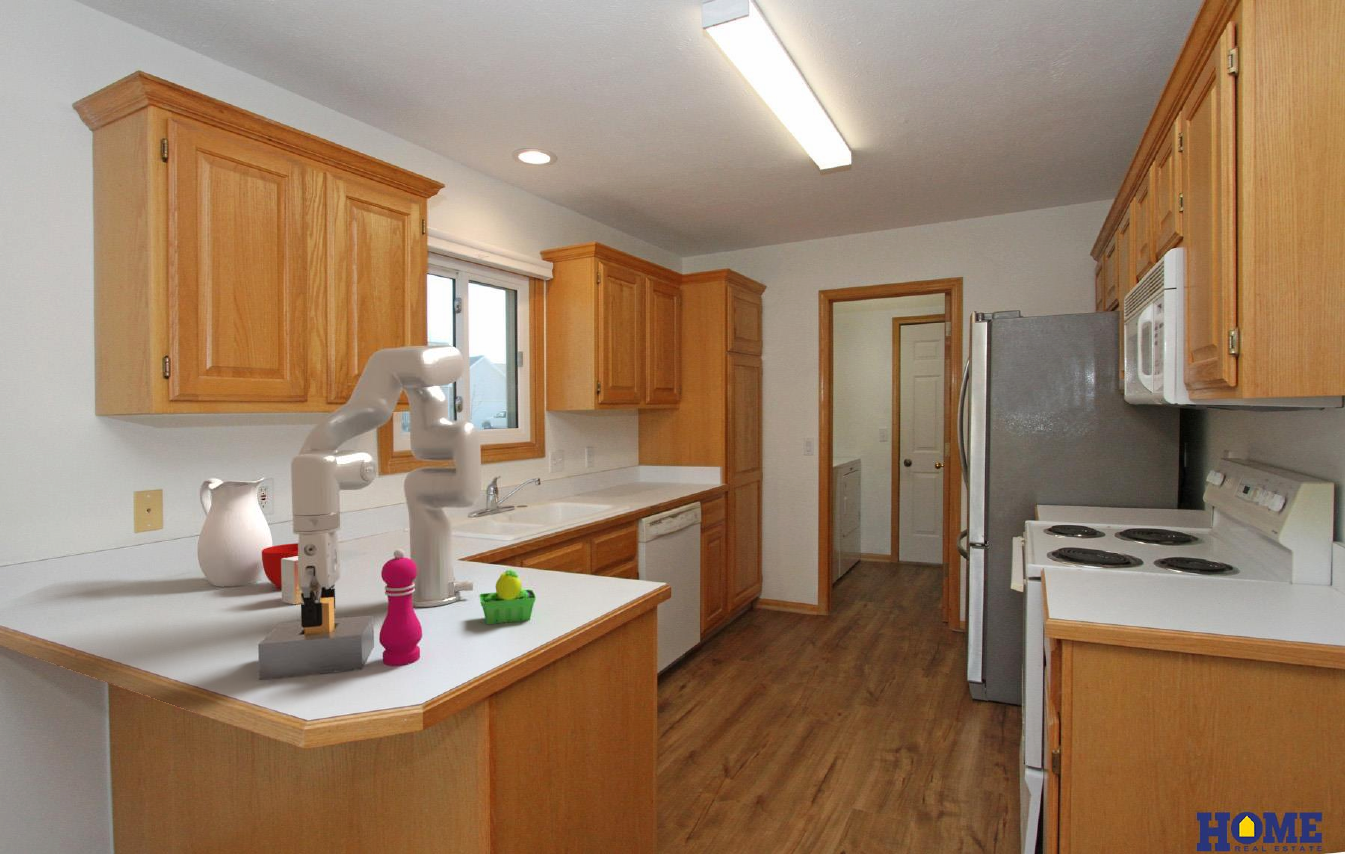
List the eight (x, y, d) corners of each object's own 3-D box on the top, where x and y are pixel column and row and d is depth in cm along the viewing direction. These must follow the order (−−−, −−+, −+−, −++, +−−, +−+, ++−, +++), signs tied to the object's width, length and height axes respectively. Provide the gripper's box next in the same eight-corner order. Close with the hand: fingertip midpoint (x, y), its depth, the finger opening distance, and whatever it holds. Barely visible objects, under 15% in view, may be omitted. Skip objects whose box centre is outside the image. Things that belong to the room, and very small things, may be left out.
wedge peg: (335, 656, 125) (333, 597, 125) (330, 664, 121) (328, 602, 121) (311, 659, 124) (309, 598, 124) (305, 667, 120) (303, 604, 120)
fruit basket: (532, 611, 152) (531, 560, 152) (537, 622, 144) (536, 569, 144) (479, 616, 149) (478, 565, 149) (481, 629, 140) (480, 574, 140)
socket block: (374, 646, 130) (373, 615, 130) (362, 669, 119) (361, 634, 119) (280, 655, 126) (279, 623, 126) (259, 679, 115) (258, 644, 115)
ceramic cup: (328, 589, 174) (327, 550, 174) (254, 594, 171) (253, 554, 170) (340, 577, 187) (340, 540, 187) (272, 581, 183) (271, 544, 183)
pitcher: (285, 578, 186) (283, 476, 186) (218, 593, 172) (214, 482, 171) (241, 569, 199) (238, 473, 198) (174, 581, 185) (171, 478, 184)
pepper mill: (387, 653, 127) (384, 545, 126) (427, 651, 127) (425, 544, 127) (373, 668, 119) (370, 553, 119) (416, 666, 120) (413, 552, 120)
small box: (294, 605, 160) (293, 560, 159) (281, 602, 163) (280, 558, 162) (327, 597, 166) (326, 554, 166) (314, 594, 169) (313, 552, 169)
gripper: (328, 529, 115) (331, 631, 115) (349, 514, 131) (351, 603, 132) (278, 532, 113) (281, 635, 113) (306, 517, 129) (308, 606, 130)
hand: (319, 618), depth 122 cm, fingers open, 9 cm apart
